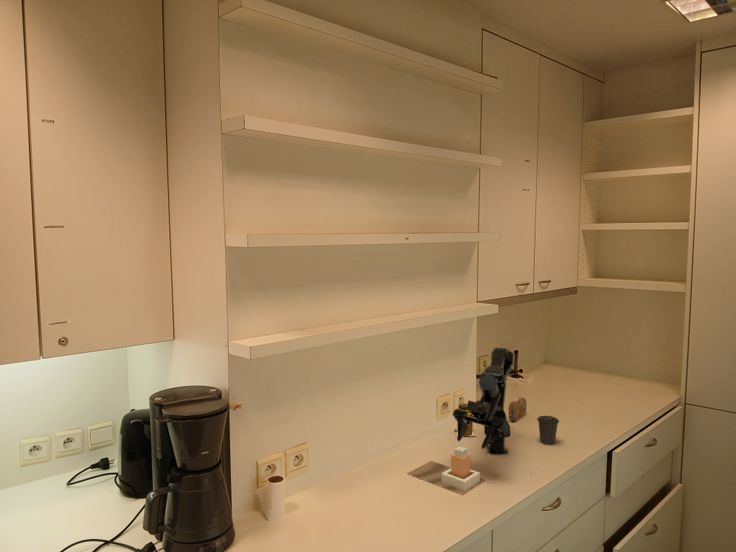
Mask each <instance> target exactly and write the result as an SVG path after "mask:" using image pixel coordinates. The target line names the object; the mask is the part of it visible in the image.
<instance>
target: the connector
mask: <svg viewBox="0 0 736 552" xmlns="http://www.w3.org/2000/svg"><path fill="white" fill-rule="evenodd" d="M450 459H451V460H450V461H451V463H450V467H451V475H453V476H455V477H458V478H461V479H465V478H467V477H469V476H470V470H471V454H470V453H468V448H466V447H463V446H460V445H459V446H457V447H455V448H454V451H453V453H452V454H451V455H450Z"/></svg>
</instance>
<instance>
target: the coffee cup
mask: <svg viewBox="0 0 736 552" xmlns="http://www.w3.org/2000/svg"><path fill="white" fill-rule="evenodd" d="M537 417H538V418H537V419H536V420H537V422H538V429H539V430H538V431H539V440H540V441H539V442H540V443H541V444H543V445H546V446H553V445H555V444H556V437H557V431H558V424H559V423H560V420H559V419H558V418H557V417H554V416H552V415H539V416H537Z"/></svg>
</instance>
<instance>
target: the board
mask: <svg viewBox="0 0 736 552" xmlns="http://www.w3.org/2000/svg"><path fill="white" fill-rule="evenodd" d="M450 468H451V466H447V465H445V464H441V463H438V462H436V461H433V460H430V461H429V462H426V463H424V464H422V465H421V466H419V467H417V468H415V469H413V470H411V471H409V472H407V473H406V475H408V476H411V477H413V478H417V479H419V480H422V481H424V482H426V483H429V484H432V485H435V486H437V487H439V488H442V489H445V490H447V491H450V492H453V493H455V494H458V495H461V496H464V495H466V494H468V493H469V492H470V491H472V490H474V489H475V488H477V487H478V486H480V485H481V484H483V483H484V482H486V481H487V479H485V478H482V477H480V482H479V483H477V484H476V485H474V486H472V487H471V488H469V489H468V490H466V491H463V490H460V489H457V488H455V487H452V486H449V485H447V484H444V483H441V475H442V473H443V472H445V471H447V470H449V469H450Z"/></svg>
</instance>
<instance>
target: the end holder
mask: <svg viewBox="0 0 736 552" xmlns="http://www.w3.org/2000/svg"><path fill="white" fill-rule="evenodd" d="M480 478H481V472H480V471H475V470H473V469H470V476H469V477H467V478H465V479H461V478H458V477H455V476H453V475H451V468H450V469H449V470H447V471H445V472H443V473H442V475H441V483H444V484H447V485H449V486H452V487H455V488H457V489H460V490H463V491H466V490H468V489H469V488H471V487H472V486H474V485H476V484H477V483H479V482H480Z"/></svg>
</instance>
